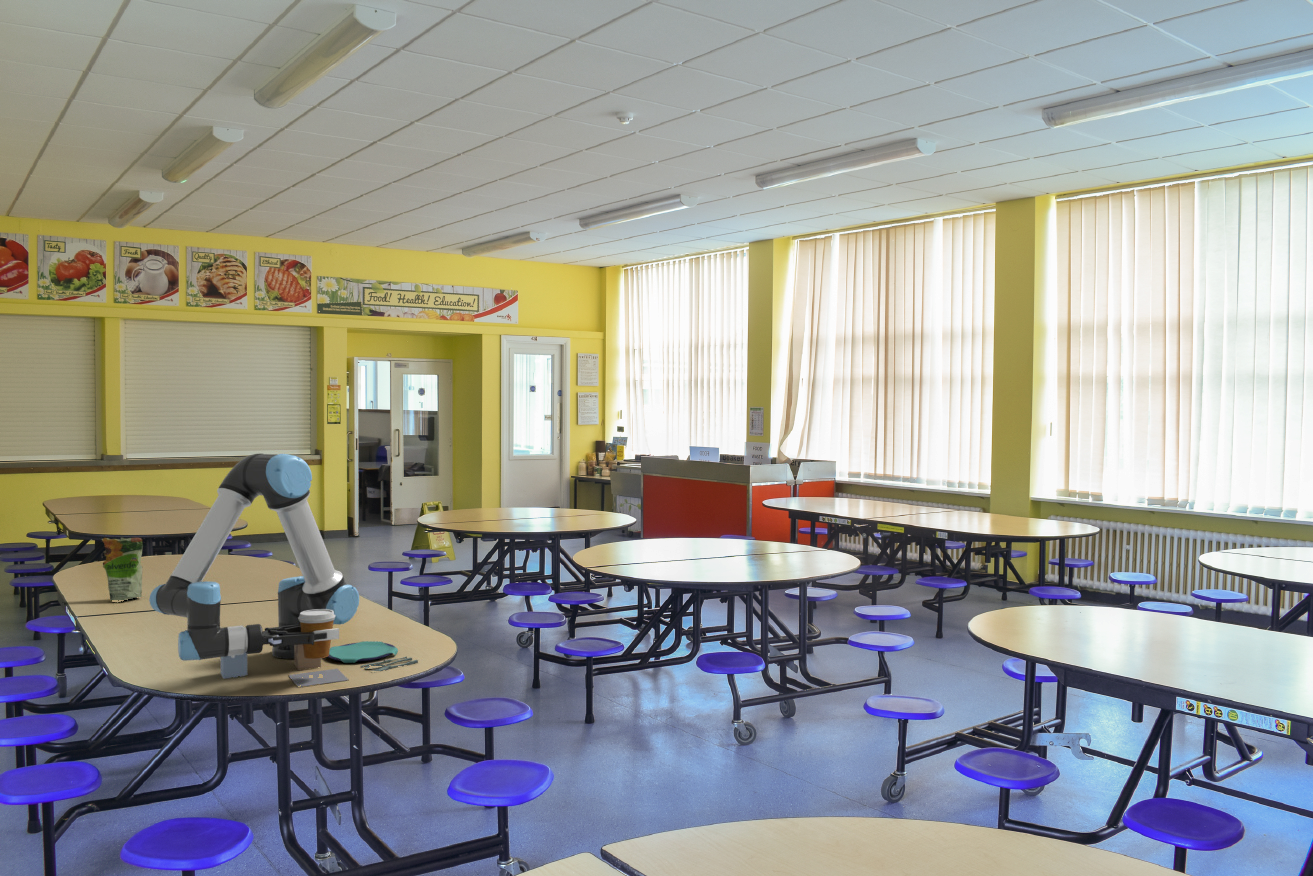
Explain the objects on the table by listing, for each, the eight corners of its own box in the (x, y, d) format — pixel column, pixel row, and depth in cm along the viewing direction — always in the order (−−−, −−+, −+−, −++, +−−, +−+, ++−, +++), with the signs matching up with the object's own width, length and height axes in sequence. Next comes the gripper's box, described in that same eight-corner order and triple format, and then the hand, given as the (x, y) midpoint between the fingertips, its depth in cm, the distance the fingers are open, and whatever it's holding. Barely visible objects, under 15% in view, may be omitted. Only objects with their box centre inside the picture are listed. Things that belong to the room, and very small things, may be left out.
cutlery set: (377, 644, 287) (377, 637, 287) (425, 664, 265) (425, 657, 265) (315, 656, 273) (315, 648, 273) (360, 678, 251) (360, 670, 251)
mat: (288, 676, 250) (288, 675, 250) (337, 669, 257) (337, 668, 257) (297, 687, 239) (297, 687, 239) (348, 680, 246) (348, 679, 246)
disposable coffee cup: (339, 652, 253) (340, 608, 253) (328, 660, 243) (328, 615, 243) (305, 652, 252) (305, 608, 252) (292, 660, 243) (292, 615, 243)
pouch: (147, 599, 355) (146, 535, 354) (115, 605, 345) (114, 539, 344) (131, 596, 361) (131, 533, 360) (99, 601, 351) (99, 537, 350)
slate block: (220, 673, 253) (220, 644, 253) (244, 670, 256) (243, 642, 256) (223, 678, 248) (223, 649, 248) (247, 675, 251) (247, 646, 251)
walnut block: (294, 665, 261) (294, 637, 261) (316, 662, 264) (316, 635, 264) (298, 670, 256) (298, 642, 256) (320, 667, 259) (320, 639, 259)
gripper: (239, 646, 247) (326, 636, 259) (251, 663, 229) (344, 652, 242) (239, 618, 247) (326, 610, 259) (251, 633, 229) (344, 623, 241)
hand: (335, 630), depth 250 cm, fingers closed on disposable coffee cup, 8 cm apart
